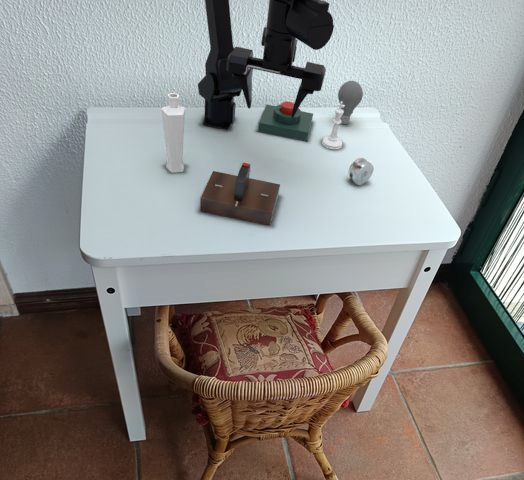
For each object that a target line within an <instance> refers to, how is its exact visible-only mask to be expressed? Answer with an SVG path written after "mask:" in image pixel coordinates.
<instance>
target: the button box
mask: <svg viewBox="0 0 524 480" xmlns="http://www.w3.org/2000/svg"><path fill="white" fill-rule="evenodd" d="M281 104H282V103H280V104H278V105H271V104H265V106H264V108H263V112H262V114H261V116H260V119H259V122H258V128H257V129H258V130H257V132H259V133H263V134H268V135H273V136H279V137H283V138H289V139H292V140H293V139H294V140H299V141H304V142H308V139H309V135H310V132H311V131H310V130H311V127H312V122H313V117H314V113H312V112H307V111H303V110H301V109H300V107H299V108H298V110H297V112H296V114H295V115H294V117H293V118H291V115H286V114H283V113H281V112H280V110H281Z"/></svg>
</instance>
